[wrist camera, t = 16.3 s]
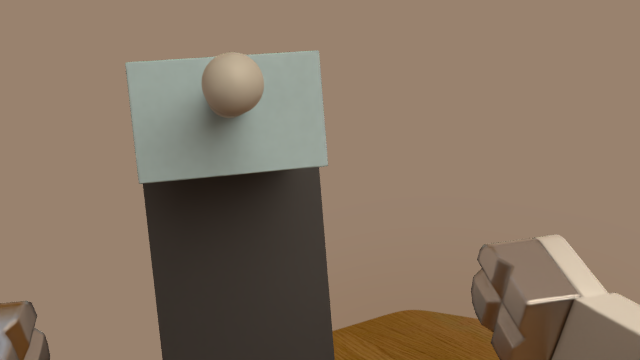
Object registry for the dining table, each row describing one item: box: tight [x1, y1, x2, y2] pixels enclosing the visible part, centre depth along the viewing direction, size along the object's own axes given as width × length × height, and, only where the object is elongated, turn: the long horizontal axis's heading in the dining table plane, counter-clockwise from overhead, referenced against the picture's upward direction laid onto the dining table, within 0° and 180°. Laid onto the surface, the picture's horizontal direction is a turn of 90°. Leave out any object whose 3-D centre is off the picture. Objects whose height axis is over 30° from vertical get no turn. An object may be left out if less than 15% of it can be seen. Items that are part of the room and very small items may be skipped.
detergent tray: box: [126, 51, 328, 184], centre depth 28 cm, size 9×20×6 cm, turn 10°
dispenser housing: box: [143, 167, 334, 360], centre depth 43 cm, size 11×11×26 cm
